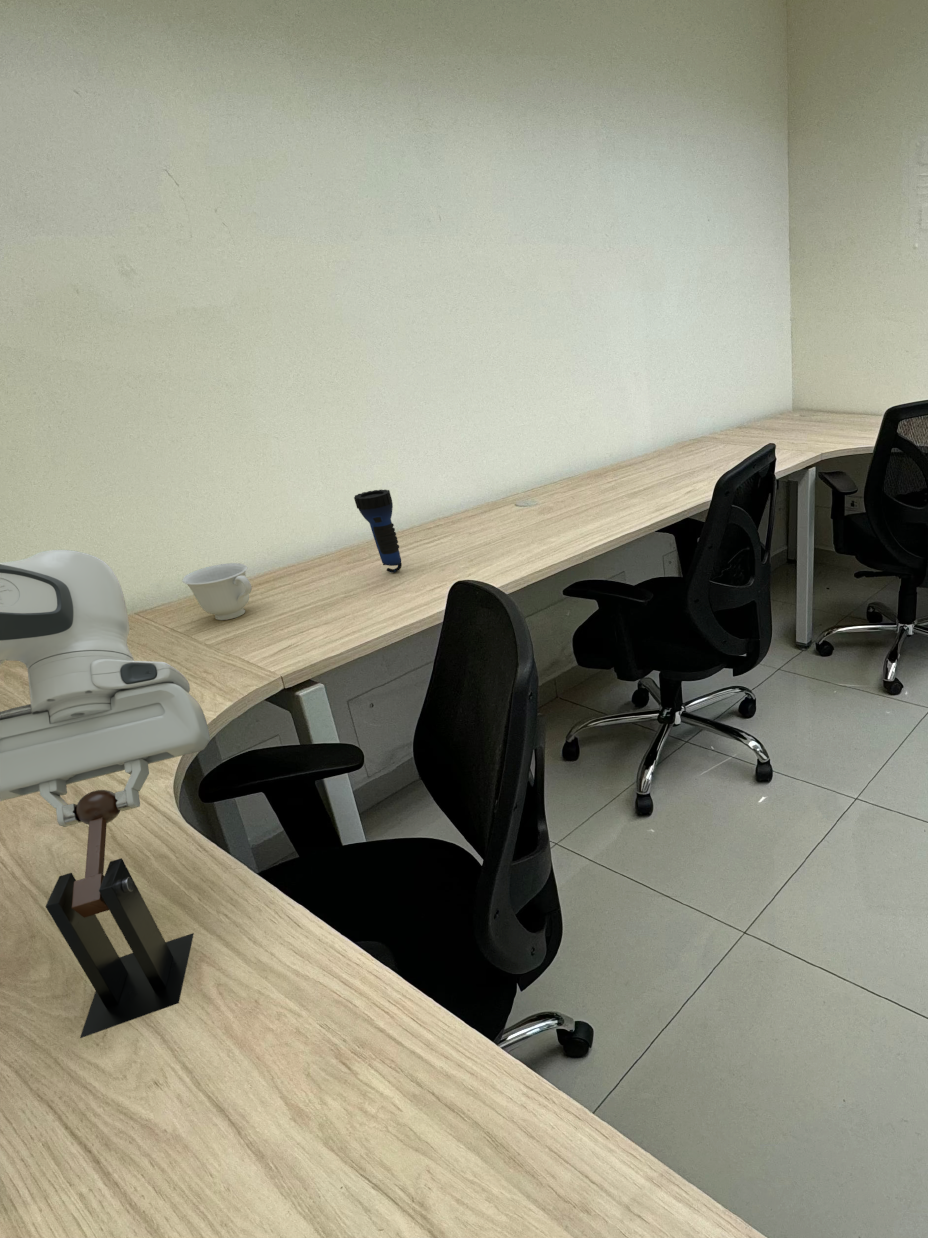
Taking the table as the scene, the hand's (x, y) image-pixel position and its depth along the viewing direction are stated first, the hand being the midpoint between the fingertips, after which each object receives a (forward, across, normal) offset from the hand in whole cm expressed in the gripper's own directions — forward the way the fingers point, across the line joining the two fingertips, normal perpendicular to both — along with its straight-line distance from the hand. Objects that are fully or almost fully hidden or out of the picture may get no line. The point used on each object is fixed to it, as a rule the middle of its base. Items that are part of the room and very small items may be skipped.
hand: (100, 816), depth 78 cm
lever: (+4, 0, 0) cm, 4 cm away
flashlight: (-66, +31, +90) cm, 116 cm away
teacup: (-60, -2, +83) cm, 103 cm away
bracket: (+18, 0, +6) cm, 19 cm away
